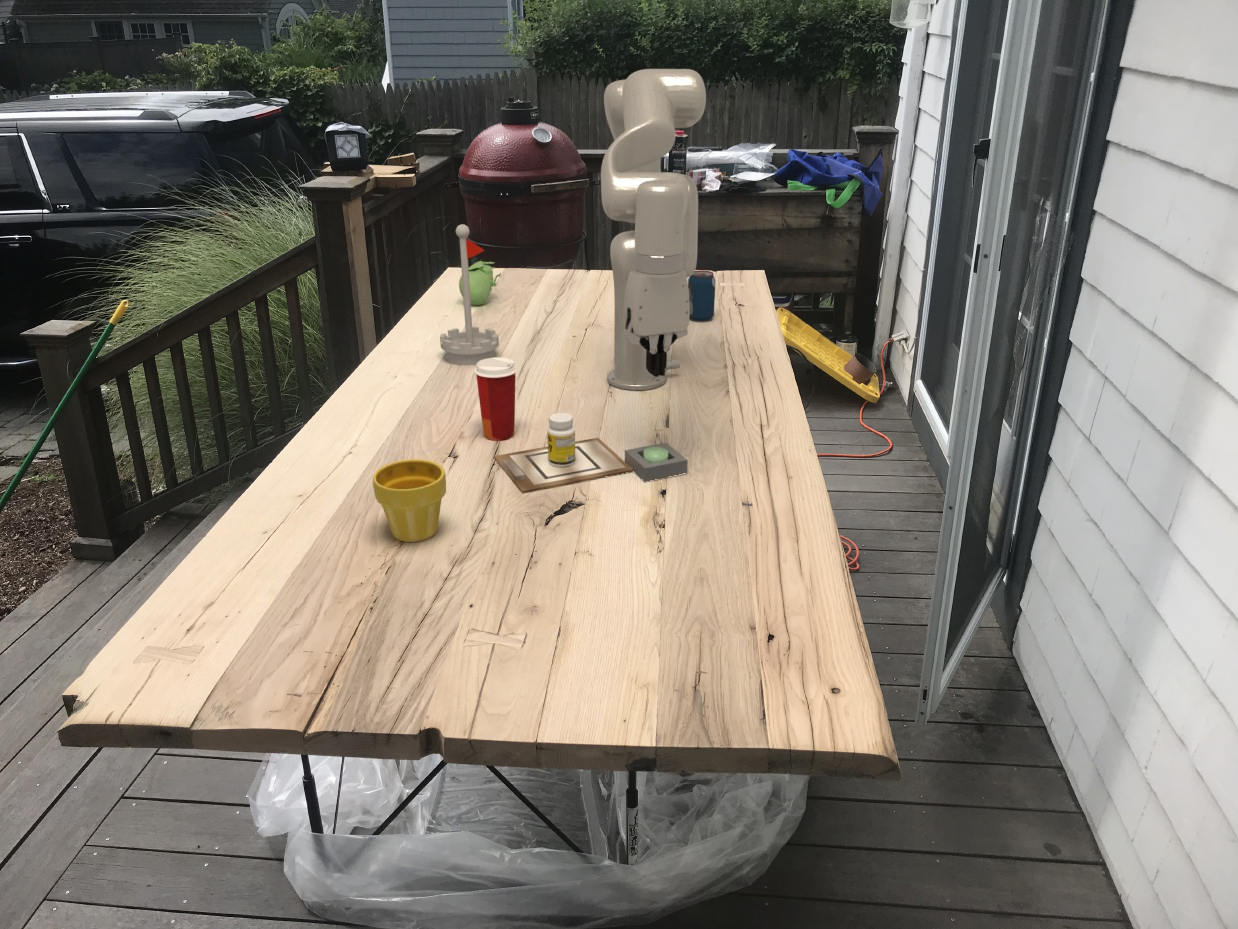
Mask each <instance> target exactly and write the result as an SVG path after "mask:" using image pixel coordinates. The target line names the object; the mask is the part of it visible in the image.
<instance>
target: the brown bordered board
mask: <svg viewBox="0 0 1238 929" xmlns="http://www.w3.org/2000/svg"><path fill="white" fill-rule="evenodd" d="M575 457H576V458H575V459H576V460H575V463H574V464H573V465H571V466H567V467H556V466H553V465H551V464H550V463H549V461H548V446H544V447H537V448H532V449H531V448H530V449H526V450H520V451H515V452H510V453H509V452H508V453H503V454H497V455H494V456H493V459H494V460H495V462H496V463H497V464H498V465H499V466H500V468H501V469H502V470H503V471H504V472H505V474H506V475H507V477H508V478H509V479H510V480H511V481H512V482H513V484H514V485H515V486H516V487H517V488H518V490H519V491H520V493H522V494H526V493H532V492H536V491H542V490H547V489H552V488H556V487H562V486H566V485H567V486H568V485H572V484H578V483H582V482H587V481H588V482H589V481H592V480H597V479H598V478H599V479H602V477H604V478H606V477H605V476H609V477H611V476H610V475H614V476H617V474H619V475H623V474H622V473H624V474H627V473H626V472H629V473H633V472H632V471H633V469H632V468H631V467H630V466H629V465H628V464H627V463H626V462H625V460H624V459H622V458H621V457H620V456H619V455H618V454H617V453H616V452H615V451H614V450H612V448H610V447H609V446H608V445H607V444H606V443H605V442H604V441H602V440H601V438H600V437H593V438H589V439H583V440H575Z"/></svg>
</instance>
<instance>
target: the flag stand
mask: <svg viewBox="0 0 1238 929" xmlns="http://www.w3.org/2000/svg"><path fill="white" fill-rule="evenodd" d="M455 234H456V236H457V237H458V238H459V251H460V264H461V276H462V283H463V297H462V298H463V310H464V311H463V312H464V328H465V331H462V332H460V331H459V328H457V327H455V328H451V329H448V330H447V333H441V334H440V335H439V340H440V348H441V349H442V350H443V351H444V352H445V360H446V362H448V363H449V364H451V363H452V365H455V364H456V365H457V366H462V365H464V367H465V365H466V367H469V366H468V365H474V366H476V364H477V363H478V362H479V361H481V360H483V359H487V358H496V354H495V353H496V352H495V350H496V349H497V348H498V347H499V346H500V344H499V333H496V330H494V329H492V328H485V329H484V330H485V331H480V330H479V328H480V327H479V326H473V318H472V316H473V315H472V306H471V305H472V304H471V300H470V284H469V259H471V258H472V257H475V256H477V255H479V254H480V253H483V252H484V251H486V250H485V249H483V248H482V247H480V246H478V245H477V244H476V243H474V242H472V241H471V240H469V239H468V237H469V235H470V228H469V226H467V225H466V224H464V223H463V224H459V225H457V227H456V228H455Z"/></svg>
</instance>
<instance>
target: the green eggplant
mask: <svg viewBox="0 0 1238 929" xmlns="http://www.w3.org/2000/svg"><path fill="white" fill-rule="evenodd" d="M493 264H495V261H494V262H492V261H482V260H480V261H476V262H475V263H473V264H472V265H470V266H468V268H469V284H470V300H471V305H472V306H473V305H474V306H481V305H484V304H485V303H487V301H488V299H489V297H490V294H491V292H492V290H493V287H496V286H497V284H498V283H496V280H497V278H498V277H499V278H500V277H501V275H502V273H501V272H500V273H498V274H496V275H495V277H494V270H495V268H496V267H495V266H494V267H492V266H491V265H493ZM493 269H494V270H493ZM458 287H459V289H458V290H459V292H460V295H461V297H462V298H463V283H462V275H461V276H460V278H459V282H458Z"/></svg>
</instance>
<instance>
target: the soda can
mask: <svg viewBox="0 0 1238 929" xmlns="http://www.w3.org/2000/svg"><path fill="white" fill-rule="evenodd" d="M687 282H688V289H689V304H690V316H689V321H692V322H695V323H707V322H711V320H712V318H713V317H714V316H715V303H716V302H715V300H716V299H715V298H716V282H717V281H716V279H715V276H714V272H713V271H711V270H710V271H709V270H704V269H703V270H695V271H694V273H693V274H692V275H691V276H690V277H688V278H687Z"/></svg>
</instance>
